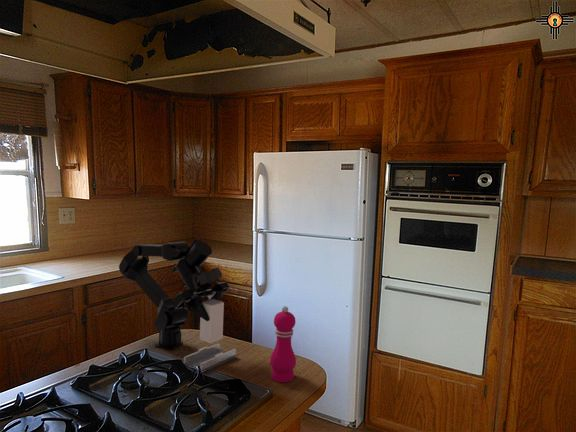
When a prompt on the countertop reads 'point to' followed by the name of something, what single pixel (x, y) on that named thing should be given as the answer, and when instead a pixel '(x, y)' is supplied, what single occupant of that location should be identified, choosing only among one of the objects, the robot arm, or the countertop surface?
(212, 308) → the block
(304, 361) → the countertop surface
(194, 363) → the rail plate
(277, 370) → the pepper mill
